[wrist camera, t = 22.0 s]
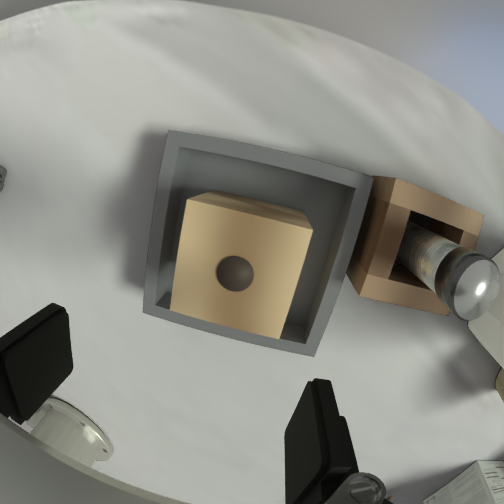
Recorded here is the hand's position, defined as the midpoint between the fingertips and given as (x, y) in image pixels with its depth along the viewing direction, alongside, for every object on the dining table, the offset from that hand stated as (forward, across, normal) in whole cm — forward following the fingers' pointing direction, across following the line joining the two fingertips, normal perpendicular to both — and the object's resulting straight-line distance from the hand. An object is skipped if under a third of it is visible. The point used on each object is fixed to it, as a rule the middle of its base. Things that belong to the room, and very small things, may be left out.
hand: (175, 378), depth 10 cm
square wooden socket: (+12, -12, -6) cm, 18 cm away
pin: (+12, -12, -6) cm, 18 cm away
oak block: (+12, -1, -3) cm, 12 cm away
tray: (+12, -1, -3) cm, 13 cm away
